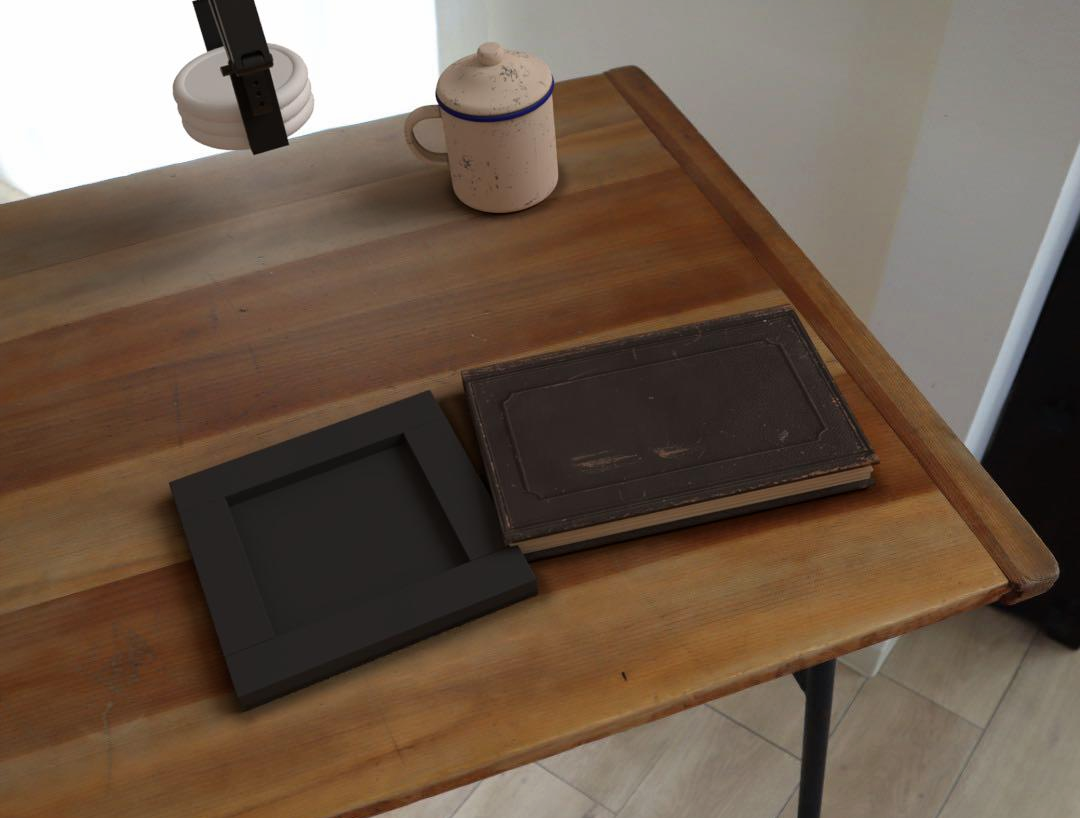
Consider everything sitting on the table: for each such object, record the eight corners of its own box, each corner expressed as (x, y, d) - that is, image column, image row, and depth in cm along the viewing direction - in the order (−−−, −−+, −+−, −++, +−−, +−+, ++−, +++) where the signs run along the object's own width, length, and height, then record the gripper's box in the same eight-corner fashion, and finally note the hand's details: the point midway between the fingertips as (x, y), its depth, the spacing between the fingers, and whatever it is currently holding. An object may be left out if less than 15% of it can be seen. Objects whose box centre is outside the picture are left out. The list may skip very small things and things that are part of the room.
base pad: (175, 497, 77) (168, 481, 75) (433, 405, 80) (430, 388, 79) (244, 712, 66) (236, 697, 64) (539, 594, 69) (537, 578, 68)
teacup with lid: (559, 147, 99) (548, 11, 90) (564, 211, 93) (553, 73, 84) (417, 160, 99) (392, 26, 90) (413, 225, 93) (386, 88, 84)
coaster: (342, 110, 89) (333, 66, 86) (237, 169, 85) (224, 125, 82) (261, 68, 94) (250, 25, 91) (158, 123, 89) (143, 79, 87)
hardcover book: (874, 486, 72) (880, 460, 70) (508, 566, 70) (504, 541, 69) (785, 324, 82) (788, 298, 81) (463, 390, 81) (459, 365, 79)
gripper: (266, -174, 66) (343, 174, 83) (178, -283, 79) (260, 35, 97) (133, -143, 64) (240, 204, 81) (67, -259, 78) (171, 59, 95)
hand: (251, 112), depth 89 cm, fingers closed on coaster, 10 cm apart
